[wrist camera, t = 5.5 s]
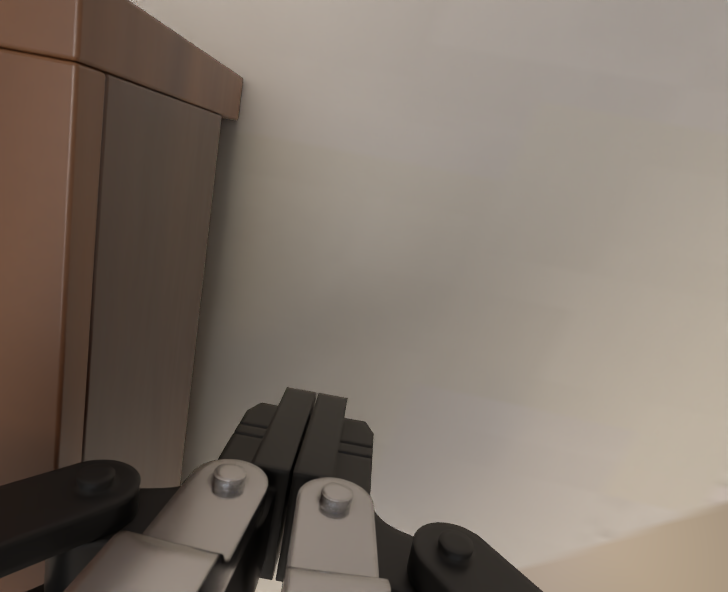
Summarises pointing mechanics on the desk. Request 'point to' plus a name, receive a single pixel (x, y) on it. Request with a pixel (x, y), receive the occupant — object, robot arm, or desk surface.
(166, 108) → the small wooden shelf
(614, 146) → the desk surface
